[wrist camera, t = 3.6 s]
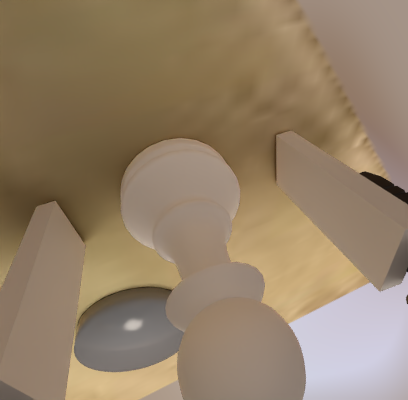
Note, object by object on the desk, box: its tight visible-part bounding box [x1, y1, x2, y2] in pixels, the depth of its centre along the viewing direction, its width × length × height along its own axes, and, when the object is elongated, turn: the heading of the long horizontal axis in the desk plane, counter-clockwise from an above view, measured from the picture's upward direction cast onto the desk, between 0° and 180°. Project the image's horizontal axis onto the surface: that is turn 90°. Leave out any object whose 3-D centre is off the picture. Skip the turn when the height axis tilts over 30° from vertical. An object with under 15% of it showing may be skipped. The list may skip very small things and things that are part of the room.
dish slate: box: [74, 287, 184, 372], centre depth 16 cm, size 7×7×1 cm
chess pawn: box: [120, 138, 306, 400], centre depth 8 cm, size 5×5×9 cm
